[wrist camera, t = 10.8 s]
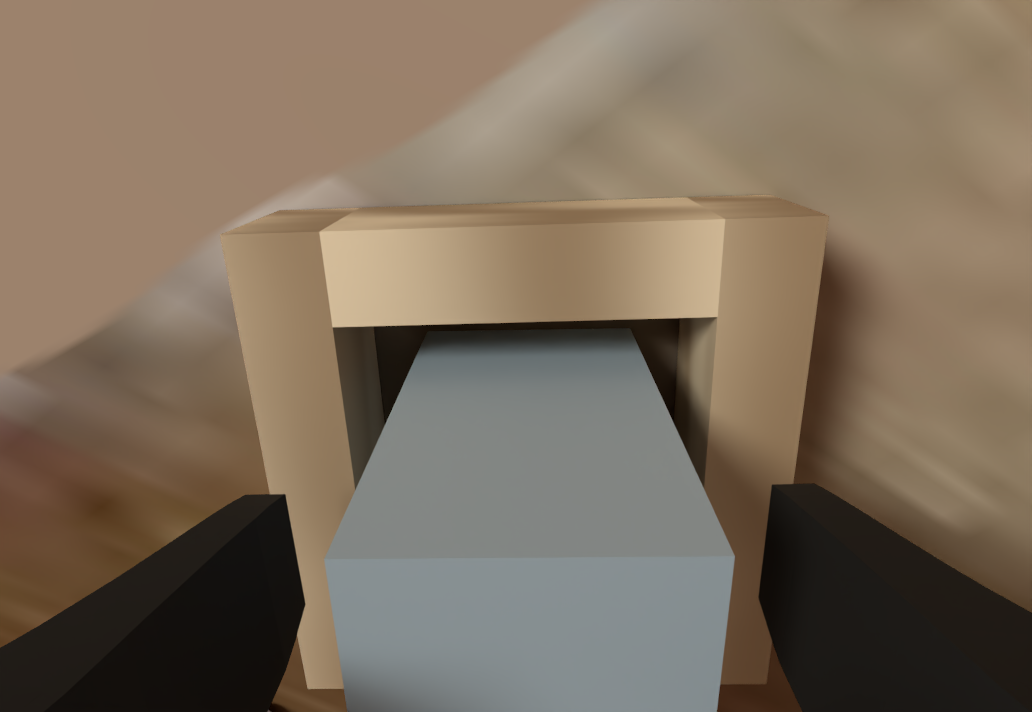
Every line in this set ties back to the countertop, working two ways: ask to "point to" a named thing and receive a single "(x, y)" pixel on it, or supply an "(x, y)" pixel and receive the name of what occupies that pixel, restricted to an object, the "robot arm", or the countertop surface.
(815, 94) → the countertop surface
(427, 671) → the slate square peg
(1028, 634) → the robot arm
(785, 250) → the birch well block
